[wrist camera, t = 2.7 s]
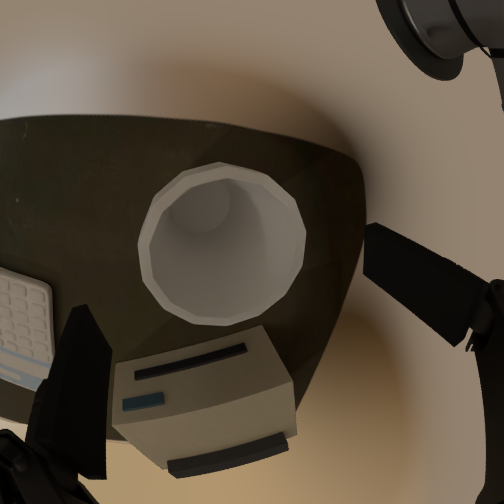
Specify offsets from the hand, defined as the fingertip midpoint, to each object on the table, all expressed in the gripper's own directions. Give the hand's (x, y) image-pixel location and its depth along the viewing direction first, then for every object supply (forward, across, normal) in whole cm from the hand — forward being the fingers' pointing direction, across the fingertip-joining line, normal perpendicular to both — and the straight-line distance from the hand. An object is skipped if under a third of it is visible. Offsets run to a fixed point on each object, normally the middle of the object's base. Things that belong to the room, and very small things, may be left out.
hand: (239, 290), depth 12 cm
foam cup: (+17, 0, 0) cm, 17 cm away
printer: (+17, -6, -24) cm, 30 cm away
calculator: (+17, -29, -9) cm, 34 cm away
